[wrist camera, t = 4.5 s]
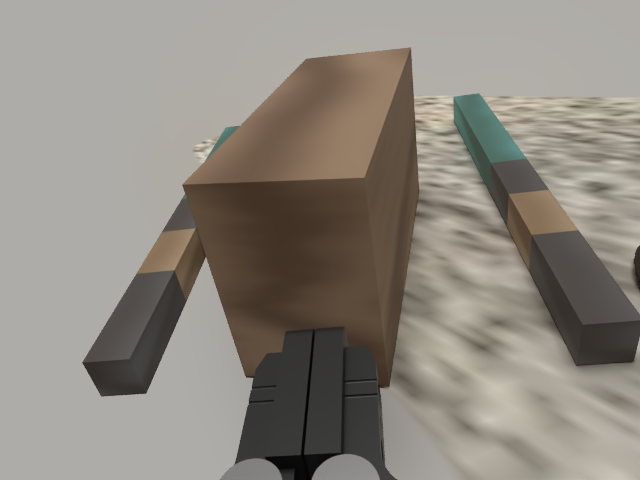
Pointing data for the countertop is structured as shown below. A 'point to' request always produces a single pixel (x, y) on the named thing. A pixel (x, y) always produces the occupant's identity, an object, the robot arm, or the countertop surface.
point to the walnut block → (315, 207)
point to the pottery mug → (637, 262)
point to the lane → (515, 208)
